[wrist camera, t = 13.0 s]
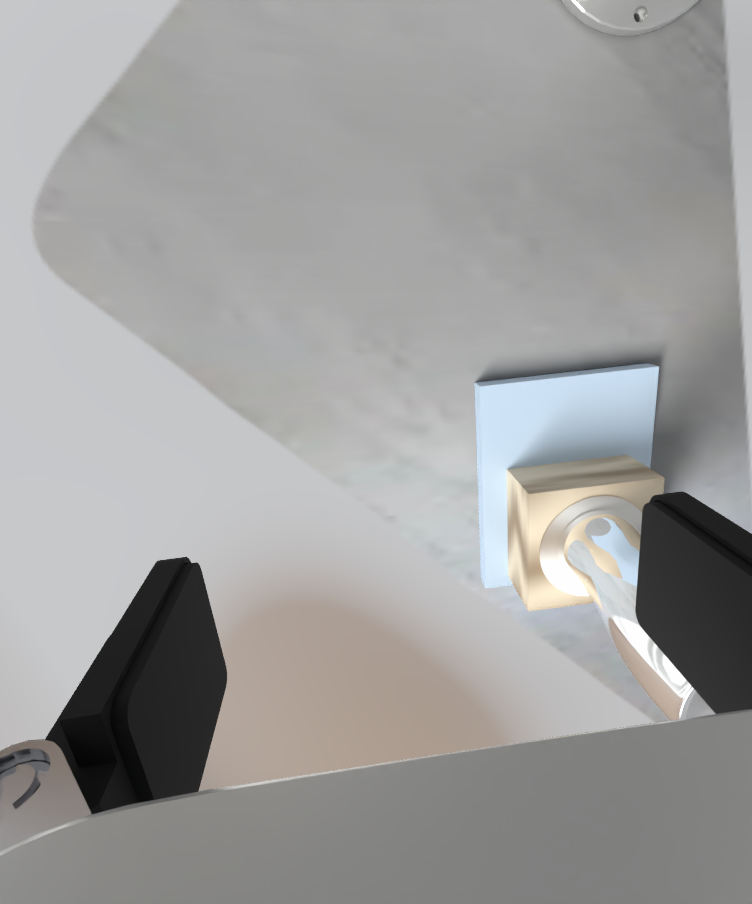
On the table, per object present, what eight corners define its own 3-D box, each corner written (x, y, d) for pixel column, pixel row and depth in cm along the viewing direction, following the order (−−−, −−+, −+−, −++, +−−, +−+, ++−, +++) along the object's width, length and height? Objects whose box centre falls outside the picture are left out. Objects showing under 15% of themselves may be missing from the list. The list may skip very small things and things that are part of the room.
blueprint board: (474, 382, 41) (479, 386, 39) (647, 363, 41) (659, 366, 40) (481, 578, 47) (485, 588, 45) (632, 559, 47) (641, 568, 46)
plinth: (506, 469, 42) (529, 495, 37) (627, 454, 42) (666, 478, 37) (508, 575, 45) (529, 612, 40) (620, 561, 45) (654, 596, 40)
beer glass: (642, 494, 37) (829, 632, 23) (641, 576, 40) (810, 746, 26) (547, 512, 37) (678, 661, 23) (552, 592, 40) (673, 773, 25)
